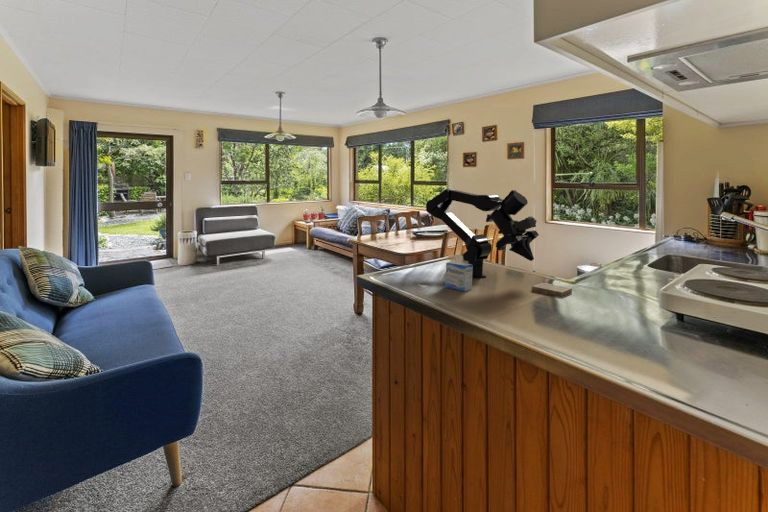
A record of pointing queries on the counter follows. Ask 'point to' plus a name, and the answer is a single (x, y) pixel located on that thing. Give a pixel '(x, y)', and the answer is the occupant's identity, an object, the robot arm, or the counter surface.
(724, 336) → the counter surface
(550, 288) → the walnut tile
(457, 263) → the medicine box
